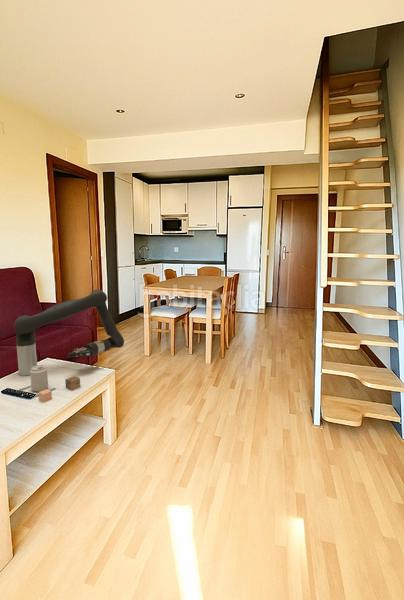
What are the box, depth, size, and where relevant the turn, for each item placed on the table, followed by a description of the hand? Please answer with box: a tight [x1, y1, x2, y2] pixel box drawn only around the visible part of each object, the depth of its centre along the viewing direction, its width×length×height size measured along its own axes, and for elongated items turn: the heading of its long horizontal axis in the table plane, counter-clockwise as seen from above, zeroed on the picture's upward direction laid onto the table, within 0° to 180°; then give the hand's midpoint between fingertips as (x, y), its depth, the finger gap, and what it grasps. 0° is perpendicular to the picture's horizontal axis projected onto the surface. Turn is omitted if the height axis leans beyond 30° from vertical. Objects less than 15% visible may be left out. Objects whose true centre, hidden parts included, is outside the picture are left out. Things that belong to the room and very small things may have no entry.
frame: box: [18, 384, 57, 399], centre depth 152 cm, size 14×12×1 cm
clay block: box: [37, 388, 53, 403], centre depth 142 cm, size 4×4×4 cm
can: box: [29, 364, 49, 393], centre depth 152 cm, size 8×8×12 cm
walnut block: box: [64, 375, 81, 391], centre depth 155 cm, size 5×5×5 cm
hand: (68, 355), depth 165 cm, fingers closed
